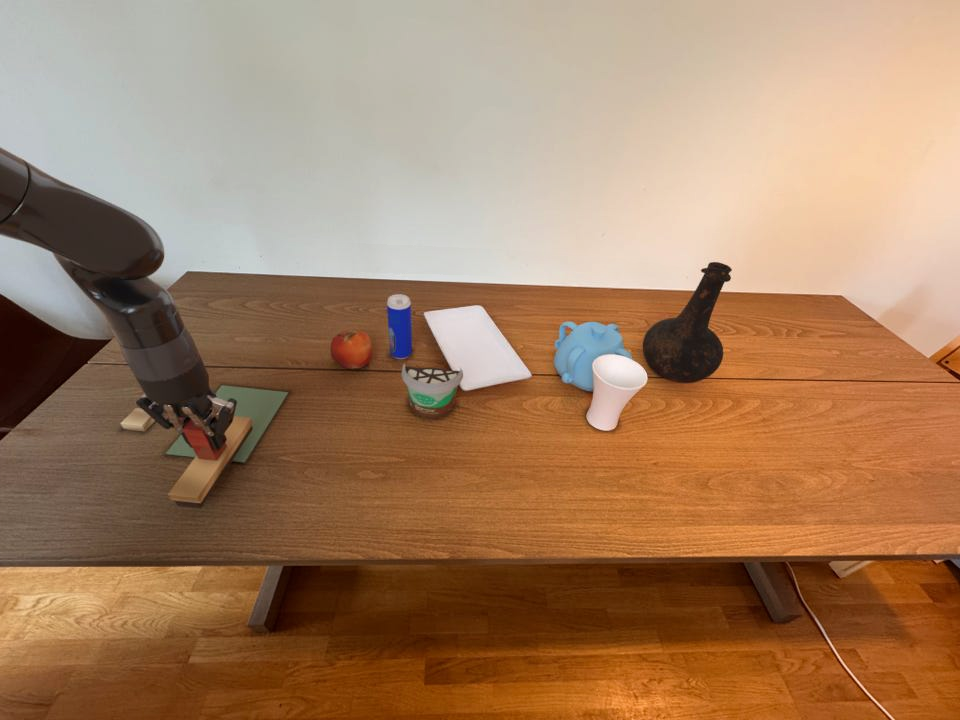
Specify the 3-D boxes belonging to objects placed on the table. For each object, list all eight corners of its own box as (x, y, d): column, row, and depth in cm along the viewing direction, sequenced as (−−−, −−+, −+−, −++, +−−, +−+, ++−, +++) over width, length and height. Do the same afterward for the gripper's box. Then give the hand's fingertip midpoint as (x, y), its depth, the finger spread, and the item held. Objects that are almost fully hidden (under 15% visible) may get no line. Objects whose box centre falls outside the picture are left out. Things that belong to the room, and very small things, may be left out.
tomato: (380, 367, 96) (377, 339, 91) (340, 380, 92) (335, 351, 87) (365, 346, 102) (362, 318, 97) (327, 356, 98) (322, 328, 93)
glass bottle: (667, 400, 95) (721, 292, 78) (621, 353, 108) (658, 251, 91) (725, 386, 101) (788, 282, 83) (675, 343, 114) (720, 245, 96)
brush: (204, 509, 63) (179, 468, 57) (175, 505, 63) (147, 464, 57) (255, 429, 76) (239, 388, 69) (231, 426, 76) (213, 385, 69)
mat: (244, 462, 74) (244, 462, 73) (165, 454, 74) (165, 453, 74) (288, 392, 88) (288, 392, 88) (222, 385, 88) (221, 385, 88)
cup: (628, 410, 92) (648, 362, 83) (625, 444, 84) (647, 395, 75) (580, 396, 94) (595, 348, 86) (573, 429, 86) (589, 379, 78)
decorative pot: (550, 350, 107) (560, 304, 98) (613, 357, 106) (629, 312, 98) (552, 393, 94) (564, 344, 86) (624, 402, 94) (643, 354, 85)
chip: (145, 431, 77) (141, 425, 76) (123, 429, 77) (119, 423, 76) (159, 415, 80) (156, 410, 79) (139, 413, 80) (135, 407, 79)
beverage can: (388, 348, 102) (385, 294, 93) (410, 345, 103) (408, 292, 94) (392, 361, 98) (388, 306, 89) (413, 358, 100) (412, 304, 90)
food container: (397, 420, 84) (395, 383, 78) (403, 398, 89) (401, 362, 83) (459, 425, 84) (461, 388, 78) (461, 403, 89) (463, 367, 83)
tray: (480, 313, 117) (481, 303, 115) (531, 386, 95) (534, 375, 93) (421, 322, 112) (421, 311, 110) (461, 402, 90) (462, 390, 87)
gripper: (233, 348, 58) (263, 431, 69) (133, 338, 58) (179, 422, 69) (202, 384, 53) (240, 469, 63) (90, 373, 53) (148, 459, 63)
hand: (208, 444), depth 66 cm, fingers closed on brush, 3 cm apart
